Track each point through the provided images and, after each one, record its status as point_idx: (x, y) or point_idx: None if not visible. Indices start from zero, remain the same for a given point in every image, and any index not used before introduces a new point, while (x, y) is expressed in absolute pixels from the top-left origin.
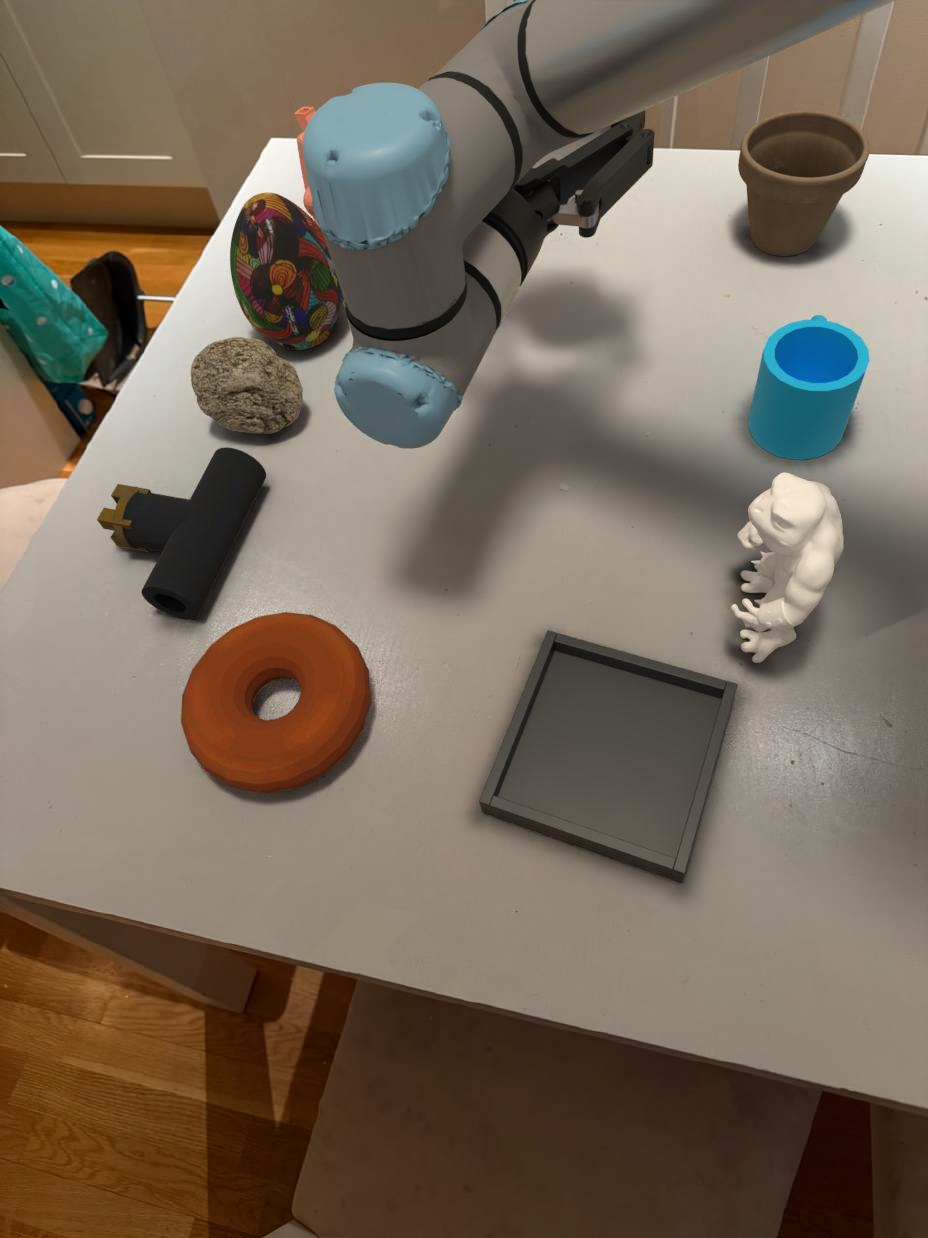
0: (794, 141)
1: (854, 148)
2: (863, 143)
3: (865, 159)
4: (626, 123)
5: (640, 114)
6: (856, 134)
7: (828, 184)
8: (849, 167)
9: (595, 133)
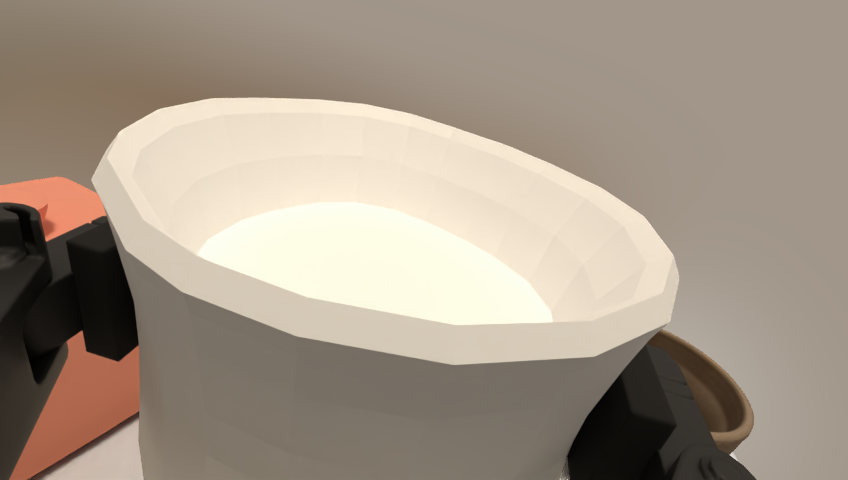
0: None
1: (702, 377)
2: (727, 378)
3: (750, 405)
4: (729, 468)
5: (686, 394)
6: (704, 361)
7: (734, 444)
8: (702, 400)
9: (551, 461)
